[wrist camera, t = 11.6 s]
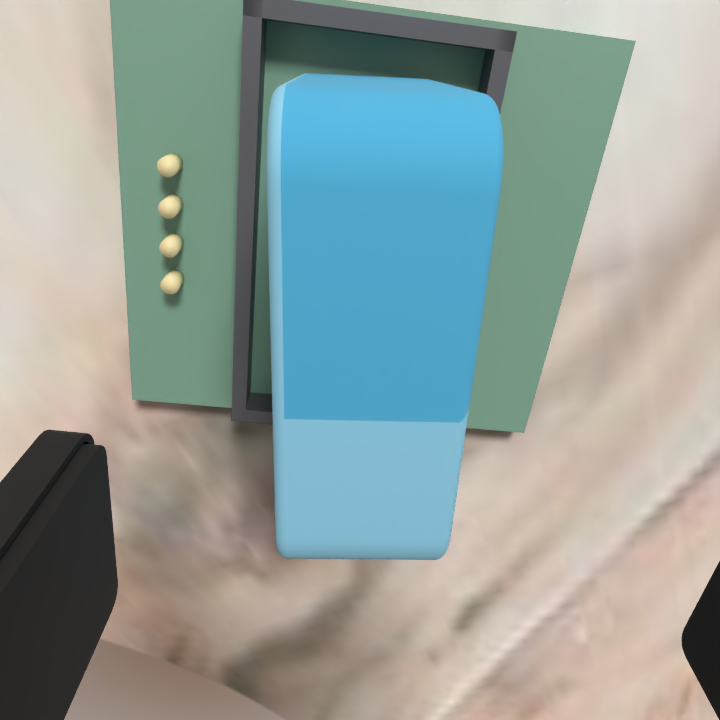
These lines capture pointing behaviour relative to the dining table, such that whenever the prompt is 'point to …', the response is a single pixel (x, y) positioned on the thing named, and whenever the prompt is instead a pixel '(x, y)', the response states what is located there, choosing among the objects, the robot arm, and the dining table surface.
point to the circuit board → (249, 177)
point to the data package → (375, 306)
